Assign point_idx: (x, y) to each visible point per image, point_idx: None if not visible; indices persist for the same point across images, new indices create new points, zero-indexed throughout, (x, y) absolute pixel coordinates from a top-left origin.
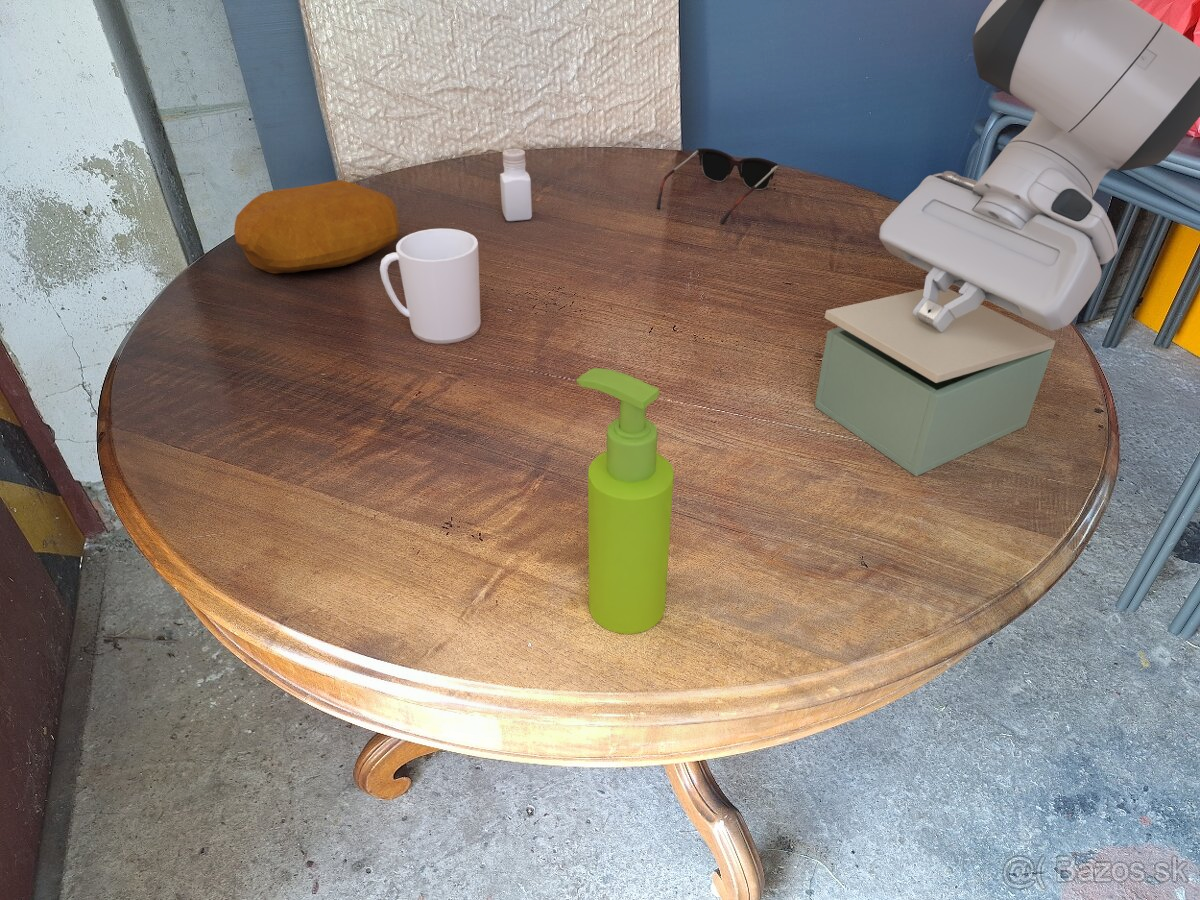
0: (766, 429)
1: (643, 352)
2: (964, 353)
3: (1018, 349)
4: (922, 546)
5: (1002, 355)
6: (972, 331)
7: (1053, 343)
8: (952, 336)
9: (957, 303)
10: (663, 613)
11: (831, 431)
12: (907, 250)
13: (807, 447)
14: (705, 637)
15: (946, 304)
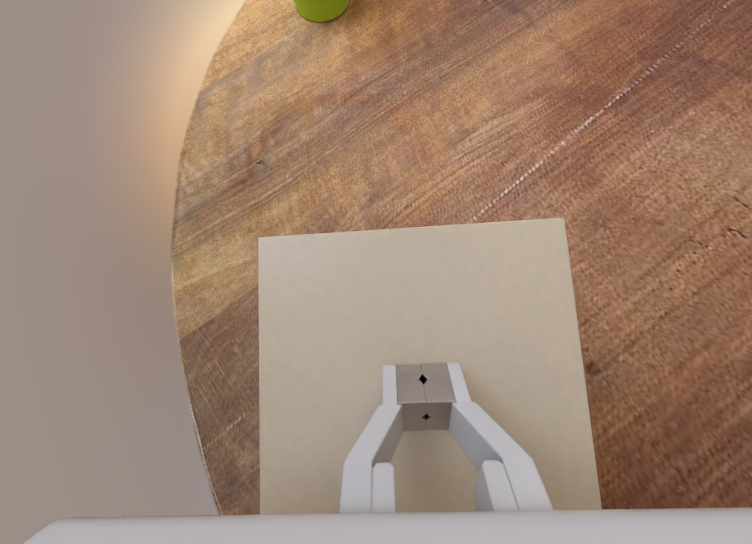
0: (466, 203)
1: (681, 167)
2: (300, 361)
3: (266, 502)
4: (247, 219)
5: (262, 438)
6: None
7: None
8: (367, 403)
9: (370, 430)
10: (301, 14)
11: None
12: (718, 510)
13: (417, 221)
14: (270, 30)
15: (396, 411)
